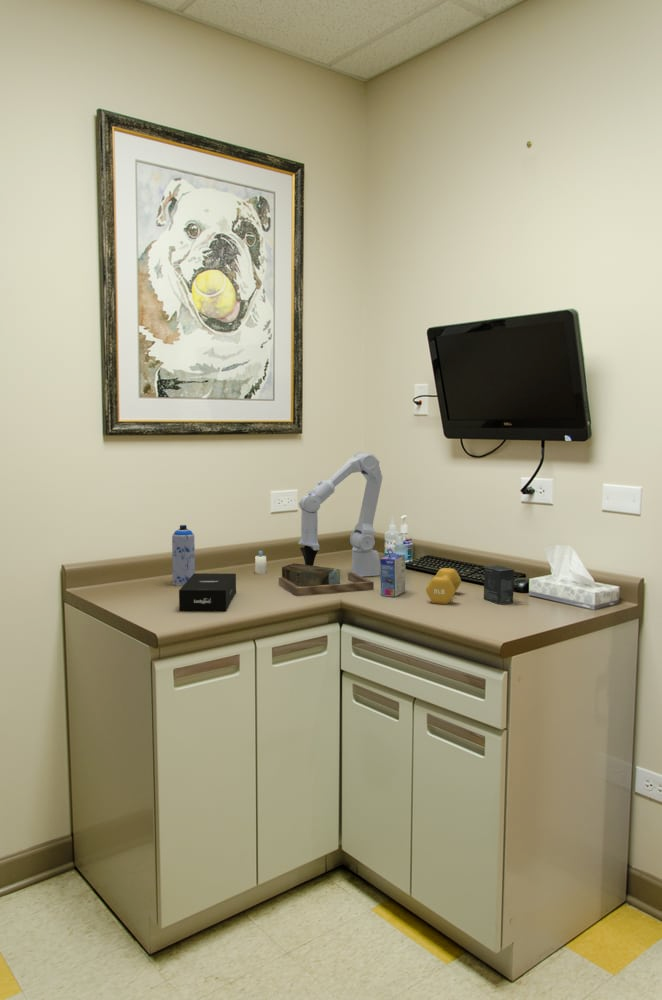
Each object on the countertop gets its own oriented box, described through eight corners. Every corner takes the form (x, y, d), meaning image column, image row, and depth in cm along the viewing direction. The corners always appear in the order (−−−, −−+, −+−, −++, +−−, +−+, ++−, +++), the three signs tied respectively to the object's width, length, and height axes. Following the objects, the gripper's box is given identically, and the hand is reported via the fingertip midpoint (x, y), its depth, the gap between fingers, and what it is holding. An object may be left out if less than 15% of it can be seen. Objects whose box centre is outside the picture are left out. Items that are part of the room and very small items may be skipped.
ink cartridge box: (390, 589, 252) (390, 546, 251) (406, 591, 250) (406, 547, 248) (379, 595, 243) (379, 550, 242) (395, 597, 241) (396, 552, 240)
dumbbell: (434, 591, 251) (434, 566, 250) (462, 592, 249) (462, 568, 248) (424, 603, 233) (424, 577, 232) (453, 606, 231) (454, 579, 230)
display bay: (351, 579, 269) (351, 572, 268) (373, 589, 252) (373, 582, 252) (278, 584, 259) (278, 577, 258) (296, 596, 242) (296, 588, 242)
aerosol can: (193, 580, 265) (193, 523, 263) (197, 585, 258) (196, 526, 256) (170, 581, 263) (170, 524, 261) (173, 586, 255) (172, 527, 253)
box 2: (513, 602, 235) (514, 568, 234) (498, 604, 232) (499, 570, 231) (497, 597, 242) (498, 564, 241) (483, 599, 239) (483, 566, 238)
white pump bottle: (264, 571, 282) (264, 549, 282) (267, 573, 279) (267, 551, 278) (254, 571, 281) (253, 550, 280) (257, 573, 277) (257, 552, 276)
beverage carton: (329, 590, 251) (329, 571, 250) (280, 584, 261) (280, 565, 260) (340, 586, 258) (340, 567, 257) (293, 580, 267) (293, 561, 267)
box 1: (194, 593, 247) (193, 573, 246) (236, 593, 247) (235, 573, 246) (179, 612, 222) (178, 590, 221) (226, 612, 222) (225, 590, 221)
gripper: (291, 527, 273) (291, 564, 274) (305, 532, 260) (305, 571, 261) (310, 526, 276) (310, 563, 277) (325, 531, 262) (324, 570, 264)
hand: (309, 567), depth 269 cm, fingers closed
